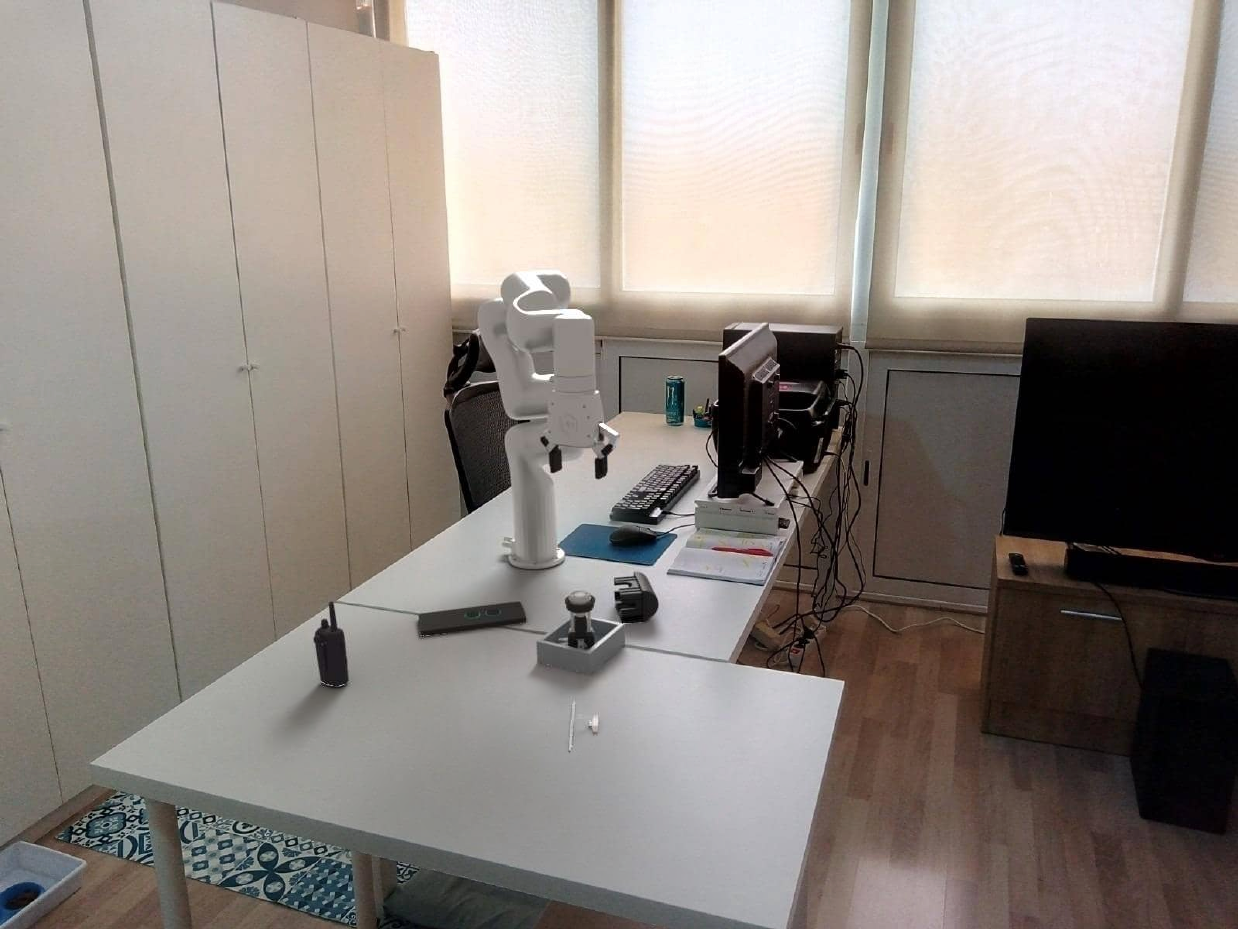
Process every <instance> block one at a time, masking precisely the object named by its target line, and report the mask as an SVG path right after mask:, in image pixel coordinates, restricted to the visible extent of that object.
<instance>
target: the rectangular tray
mask: <svg viewBox="0 0 1238 929" xmlns="http://www.w3.org/2000/svg"><path fill="white" fill-rule="evenodd" d="M575 615H576V614H574V625H575ZM586 620H587V615H586ZM625 626H626V624H622V623H621V622H617V621H612V620H607V619H603V618H600V617H594V616H591V628H593V631H594V632H595V645H594V646H593V647H592V648H591V649H589V648H584V649H577V648H573V647H569V646H565V645H561V644H559V643H565V642H568V641H559V638H568V632H569V629H570V628H571V617H570V615H569V616H568V617H566V618H565V619H564V620H562V621H561V622H560V623H558V624H557V625H556V626H555V627H553V628H552V629H551V630H549V631H548V632H547V633H545V634H544V635H543V636H541V637H540V638H538V639H537V640H536V642H535V643H536V660H537V663H539V662H540V664H544V665H547V664H549V665H548V666H551V665H552V666H551V667H555V668H559V667H561V668H560V669H563V668H564V669H563V670H567V669H568V670H567V671H571V670H572V672H574V671H577V672H576V673H578V672H580V673H579V674H582V673H583V675H586V674H589V675H588V676H591V675H592V674H593V673H595V672H596V669H597V668H598V667H599V668H600V667H601V666H602V665H604V664H605V663H606V662H607V661H608V660H609V659H610V658H611V657H612V656H614V655H615V654H616V653H617V652H618V651H619V650H621V648H623V647H624V646H625V645H626V630H625V628H626V627H625ZM587 629H588V628H587ZM574 631H575V630H574ZM561 640H563V639H561ZM605 661H606V662H605ZM599 668H598V669H599ZM598 669H597V670H598ZM590 674H591V675H590Z"/></svg>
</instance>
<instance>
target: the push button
mask: <svg viewBox="0 0 1238 929" xmlns="http://www.w3.org/2000/svg"><path fill="white" fill-rule="evenodd" d="M595 603H596V597H595V596H594V595H592V594H590V592H589V591H587V590H581V589H580V590H574V591H571V592H570V593H569V595H568V596H567V597H565V598H564V604H565V608H566V610H567V611H568V612H570V614H569V616H570V617H571V628H570V629H569V632H568V638H559V641H568V642H565V643H559V644H561V645H565V646H569V647H573V648H577V649H584V648H589V649H591V648H592V647H593V646H594V645H595V632H594V631H593V628H591V617H592V615H591V614H592V613H591V611H593V609H594V607H595ZM574 614H576V615H575V625H574ZM586 616H587V620H586ZM587 628H588V629H587ZM574 630H575V631H574ZM561 639H563V640H561Z"/></svg>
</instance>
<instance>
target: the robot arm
mask: <svg viewBox="0 0 1238 929" xmlns="http://www.w3.org/2000/svg"><path fill="white" fill-rule="evenodd" d="M499 291H500V297H496V298H491V299H489V300H486V301H484V302H483V303H482V304H481V305H480V306H479V308H478V312H477V325H478V330H479V334H480V337H481V340H482V343H483V344H484V347H485V350H486V351H487V352H488V355H489V356H490V358H491V360H492V362H493V365H494V368H495V371H496V372H495V373H496V377H497V382H498V386H499V391H500V396H501V400H502V404H503V408H504V411H505V413H506V414H505V415H507V416H508V417H509V418H510V419H512V420H517V421H522V420H523V421H524V420H526V421H527V420H535V419H545V418H546V419H547V420H538V421H529V422H523V423H519V424H515V425H513V426H511V427H510V428H509V429H508V430H507V431H506V433H505V435H504V448H505V452H506V457H507V462H508V466H509V474H510V484H511V495H512V496H511V498H512V499H511V500H512V516H513V517H512V518H513V534H514V535H513V536H511V535H504V537H503V541H502V543H501V546H502V547H503V548H510V551H511V552H510V553H509V554H508V562H509V564H511V566H514V567H515V568H519V569H525V570H526V569H527V570H540V569H541V570H542V569H548V568H551V567H555V566H557V565H559V564H562V562H563V561H565V557H566V554H565V550H564V549H562V548H560V547H558V534H557V533H558V532H557V531H558V530H557V526H558V525H557V507H556V505H557V504H556V487H555V482H554V480H553V478H552V477H551V475H550V474H555V473H558V472H559V471H561V470H562V469H563V463H566V462H567V463H568V462H573V461H577V460H580V459H581V458H582V457H583V456H584V454H585V451H586V449H591V450H592V452H594V454H595V455H596V458H594V478H595V479H596V480H601V479H603V478H605V477H606V476H607V474H608V472H609V471H608V470H609V468H608V467H609V466H608V465H609V464H608V456H610V455H611V453H612V451H614V450H615V448H616V447H617V444H618V442H619V440H620V438H621V436H620V434H619V433H618V432H616V431H615V430H613V429H612V428H611V427H609V426H607V425H605V416H604V415H605V414H604V407H603V402H602V399H601V394H600V391H599V390H597V382H596V381H597V379H596V376H597V375H596V344H595V343H596V342H595V322H594V319H593V318H592V316H590V315H587V314H585V313H584V312H583V311H582V310H580V309H570V308H569V305H570V302H571V297H572V293H571V292H572V291H571V285H570V282H569V280H568V278H567V277H566V275H565V274H564V273H562V272H561V271H558V270H553V269H551V270H531V271H530V270H529V271H518V272H513V273H512V274H509V275H507V276H506V278H504V280H503V281H502V283H501V285H500V290H499ZM568 308H569V309H568ZM548 352H552V358H553V359H552V360H553V374H551V373H550V374H541V375H540V374H538V373H536V369H535V366H534V360H533V358H532V354H535V353H536V354H537V353H548ZM605 437H606V438H608V442H607V444H605V442H604V441H605ZM547 465H549V469H550V474H549V473H547V472H546V471H545V470H544V468H543V466H547Z"/></svg>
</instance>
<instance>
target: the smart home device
mask: <svg viewBox="0 0 1238 929" xmlns="http://www.w3.org/2000/svg"><path fill="white" fill-rule="evenodd" d="M522 604H523V603H522V602H521V601H519V600H518V601H510V602H502V603H492V604H486V605H478V606H471V607H462V608H460V607H459V608H454V609H446V610H445V609H443V610H438V611H436V610H435V611H429V612H422V613H419V614H418V615H417V616H418V617H417V618H418V624H419V625H418V626H419V634H420V635H422V636H421V637H426V636H425V635H432V636H436V635H435V634H439V635H444V634H443V633H447V634H453V632H454V633H461V631H462V632H469V631H475V630H477V631H478V630H482V629H483V630H484V629H490V628H499V627H505V626H506V627H507V626H514V625H521V624H520V623H522V624H526V623H527V622H528V621H527V620H528V619H527V615H526V612H525V610H524V607H523V605H522ZM513 624H514V625H513ZM423 635H424V636H423Z"/></svg>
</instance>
